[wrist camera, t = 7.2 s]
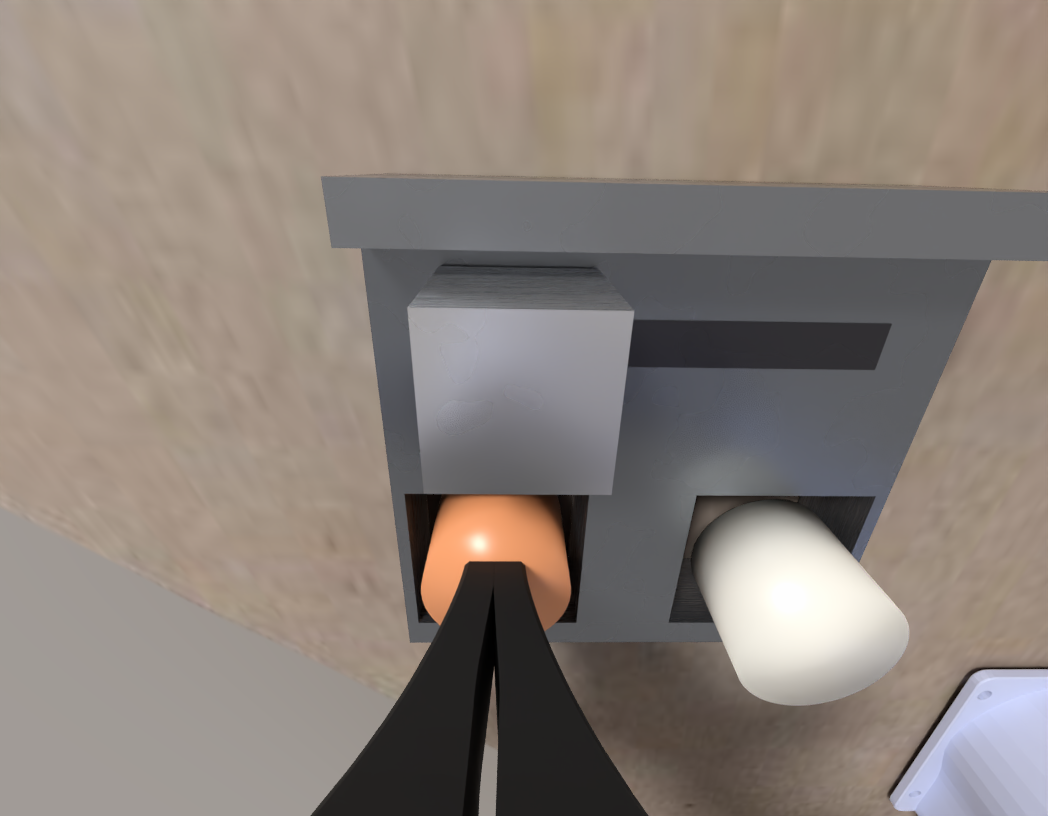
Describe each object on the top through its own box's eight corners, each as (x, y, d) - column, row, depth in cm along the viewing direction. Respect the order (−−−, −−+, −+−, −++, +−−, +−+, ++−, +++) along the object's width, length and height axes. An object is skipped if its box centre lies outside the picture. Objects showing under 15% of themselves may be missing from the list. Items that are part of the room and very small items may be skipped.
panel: (781, 576, 16) (857, 691, 13) (424, 576, 16) (398, 694, 12) (918, 185, 11) (1114, 194, 7) (386, 173, 11) (321, 176, 7)
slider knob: (586, 410, 10) (611, 495, 8) (447, 409, 10) (423, 493, 8) (598, 269, 9) (634, 310, 6) (439, 265, 9) (406, 307, 6)
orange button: (557, 559, 15) (566, 643, 12) (441, 559, 15) (426, 644, 12) (563, 462, 14) (576, 535, 11) (434, 461, 13) (415, 534, 11)
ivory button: (804, 601, 14) (874, 705, 11) (680, 601, 14) (720, 706, 11) (844, 499, 12) (936, 592, 10) (704, 498, 12) (758, 592, 9)
